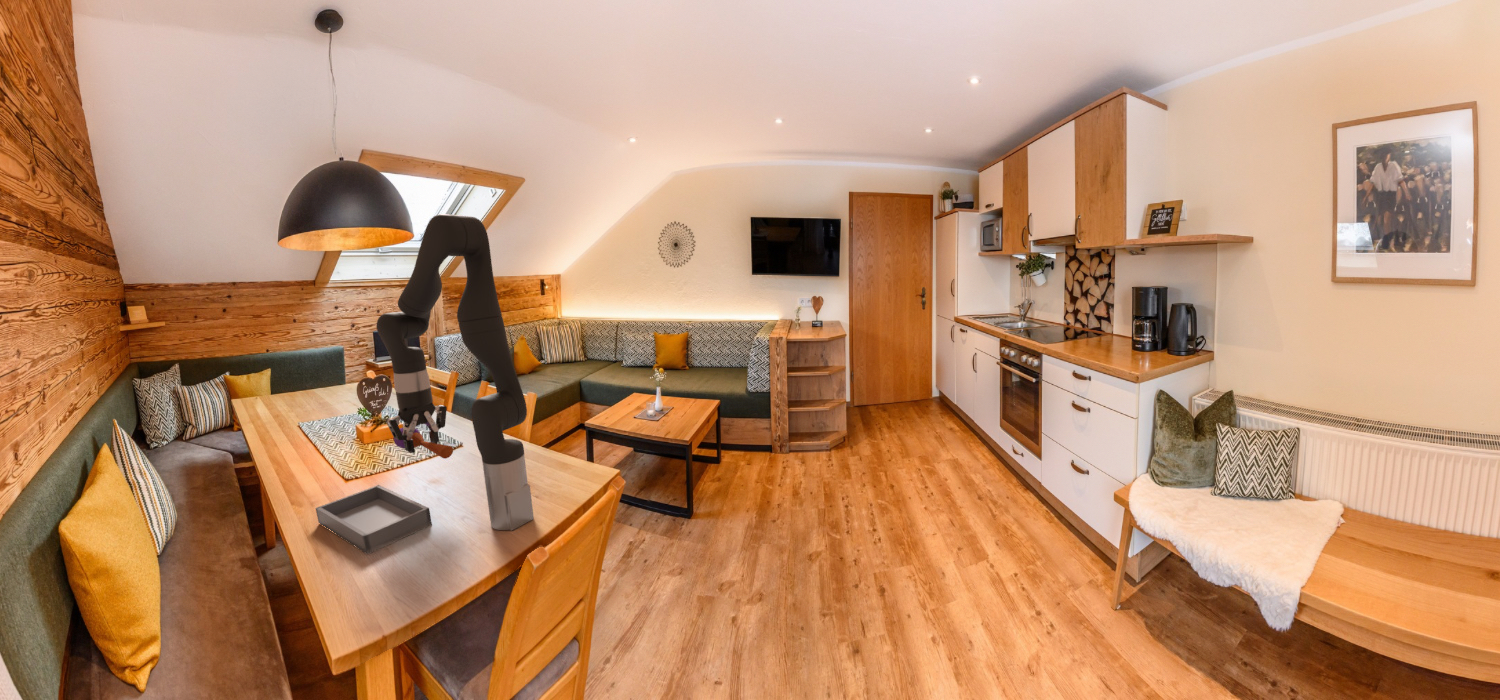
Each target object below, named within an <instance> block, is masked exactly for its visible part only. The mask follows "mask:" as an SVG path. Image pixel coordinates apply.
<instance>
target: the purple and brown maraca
mask: <svg viewBox="0 0 1500 700" xmlns="http://www.w3.org/2000/svg"><path fill="white" fill-rule="evenodd" d="M399 428H400V431H401V433H402V434H403V427H399ZM412 439H413V444H414V449H415V448H417V447H421V446H422V447H423V448H426V449H427V450H428V451H431V452H432V453H434V454H435V455H437V456H439V457H440V458H441V459H448V458H450V457H451V456H452V454H453V453H454V448H453V446H451V445H447V444H442V443H438V444H436V443H431V442H430V441H425V439H424V436H423V435H422V434H421V433H420V431H419V429H418V428H416V427H415V431H414V432H413V435H412ZM393 443H394V444H395V445H396V447H398V448H401V449H403V450H405V446H404V441H403V440H398V439H395V438H394V437H393Z"/></svg>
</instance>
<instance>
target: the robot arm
mask: <svg viewBox="0 0 1500 700" xmlns="http://www.w3.org/2000/svg"><path fill="white" fill-rule="evenodd" d="M489 241H490V239H489V235H488V232H487V229H486V227H485V225H484V223H483V222H482V221H481V220H480V219H479V218H477V217H474V216H471V215H470V216H469V215H461V214H458V215H457V214H450V213H449V214H448V213H447V214H445V213H441V214H436V215H434V216H433V217H431V219H430V220H429V221H428V223H427V225H426V228H425V230H424V233H423V237H422V239H421V243H420V245H419V249H418V253H417V257H416V260H415V264H414V268H413V270H412V273H411V275H410V278H409V280H408V281H407V283H406V285H405V287H404V288H403V290H402V292H401V294H400V296H399V298H398V300H397V306H398V309H399V310H400V311H393V312H385V313H383V314H381V315H380V316H379V317H378V319H377V320H376V330H377V334H378V336H379V337H380V339H381V341H382V342H383V345H384V346H385V348H386V351H387V353H388V355H389V357H390V360H391V365H392V366H391V367H392V370H393V371H392V372H393V384H394V391H395V395H396V402H397V408H398V413H397V415H396V416H393V417H392V418H390V417H388V418H386V420H385V423H386V425H387V426H388V429H389V431H390V433H391V434H392V436H393V439H394V438H395V439H398V440H403V441H404V446H405V449H404V450H405V451H406V452H408V453H409V454H413V453H415V452H416V450H415V448H414V444H413V439H412V435H413V432H414V431H415V428H416V427H418V426H420V425H426V427H427V428H428V430H429V432H428V434H429V436H428V437H429V440H430V441H429V442H431V443H436V444H439V443H440V439H439V430H440V429H443V428H445V426H446V422H447V421H446V420H447V409H448V407H447V406H446V405H442V404H439V405H435V404H434V401H433V395H432V394H433V393H432V388H431V380H430V376H429V373H428V368H427V364H426V358H425V357H426V356H425V353H424V352H425V351H424V350H423V348H421V347H417V346H407V345H406V343H405V341H404V340H408V339H413V338H418V337H421V336H422V335H424V334H425V333H427V331H428V329H429V325H430V320H431V319H430V318H431V313H432V309H433V308H434V306H435V305H436V303H437V301H438V300H439V299H440V296H441V294H442V290H443V284H442V283H443V282H442V279H441V275H440V267H441V266H442V264H443V263H444V262H445V260H446V259H447V258H448V257H463V259H464V263H465V269H466V284H465V286H464V287H465V288H464V290H463V292H462V295H461V298H460V301H459V304H458V307H457V312H456V313H457V314H456V318H457V323H458V327H459V330H460V335H461V338H462V342H463V344H464V346H465V347H466V349H467V350H468V351H469V352H470V353H471V354H472V355H473V356H474V357H475V358H476V360H478V361H479V362H481V364H482V365H483V366H484V367H485V368H486V369H487V370H488V371H489V373H490V375H491V377H492V380H493V383H494V385H495V389H496V390H495V391H496V392H494V393H491V394H488V395H484V396H482V397H479V398H477V399H476V400H474V402H473V403H472V405H471V411H470V412H471V413H470V415H471V422H472V427H473V430H474V431H473V432H474V435H475V441H476V445H477V449H478V450H479V454H480V456H481V462H482V469H483V476H484V478H483V479H484V484H485V491H486V492H485V493H486V497H487V498H486V499H487V500H486V501H487V507H488V511H489V513H488V514H489V521H490V527H491V528H493V529H494V530H497V531H506V530H507V531H508V530H509V531H514V530H516V529H518V528H520V527H521V526H524V525H525V524H527V523H528V522H530V521H533V520H534V519H535V518H534V516H535V515H534V510H533V501H532V493H531V491H532V490H531V485H530V484H529V482H528V474H527V465H526V458H525V447H524V444H523V442H522V441H520V440H518V439H515V438H514V439H513V438H505V435H504V431H506V430H509V429H511V428H514V427H516V426H519V425H520V424H522V423H524V422H525V420H526V418H527V415H528V408H527V402H526V398H525V395H524V392H523V389H522V387H521V383H520V380H519V378H518V375H517V372H516V369H515V366H514V365H515V364H514V362H513V357H512V354H511V350H510V346H509V342H508V337H507V333H506V332H507V331H506V326H505V323H504V319H503V314H502V310H501V308H500V307H501V306H500V304H499V303H500V302H499V299H498V293H497V289H496V288H497V287H496V284H495V278H494V271H493V265H492V262H493V261H492V255H491V249H490V247H491V246H490V242H489ZM435 413H436V418H435V420H434V418H433V414H435ZM401 421H402V422H403V427H402V428H403V434H402V433H401V431H400V428H401V427H400V426H399V425H400V422H401Z"/></svg>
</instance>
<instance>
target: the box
mask: <svg viewBox="0 0 1500 700" xmlns="http://www.w3.org/2000/svg"><path fill="white" fill-rule="evenodd" d="M315 511H316V516H317V517H316V518H317V521H318V524H319V523H320V524H321V525H323V526H325V527H326V528H328V529H330V530H331V531H333V532H334V533H336V534H337V535H339V536H340V537H342V538H343V539H342V538H341V539H342V540H344V539H345V540H347V541H348V542H350V543H351V544H350V543H349V544H350V545H352V544H353V545H355V546H356V547H357V548H356V547H355V546H354V547H355V548H356V549H358V548H359V549H358V550H360V551H361V550H362V551H361V552H363V553H365V554H366V555H369V554H372V553H374V552H376V551H378V550H380V549H382V548H385V547H386V546H389V545H391V544H393V543H395V542H397V541H399V540H401V539H404V538H405V537H407V536H409V535H413V534H414V533H416V532H419V531H420V530H421V531H422V530H423V529H424V528H425V529H426V528H427V527H430V526H431V525H432V517H431V511H430V507H427V506H426V505H424V504H421V503H419V502H417V501H415V500H413V499H410V498H408V497H406V496H404V495H402V494H399V493H397V492H395V491H393V490H391V489H389V488H387V487H385V486H382V485H380V484H377V485H374V486H372V487H369V488H367V489H364V490H361V491H359V492H356V493H353V494H350V495H347V496H344V497H342V498H339V499H336V500H333V501H331V502H328V503H325V504H322V505H320V506H317V507H315ZM321 525H320V526H321ZM323 526H322V527H323ZM326 528H325V529H326ZM331 531H330V532H331ZM334 533H333V534H334ZM337 535H336V536H337ZM339 536H338V537H339ZM340 537H339V538H340ZM345 540H344V541H345ZM347 541H346V542H347ZM348 542H347V543H348ZM353 545H352V546H353ZM375 550H376V551H375ZM373 551H374V552H373Z"/></svg>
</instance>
